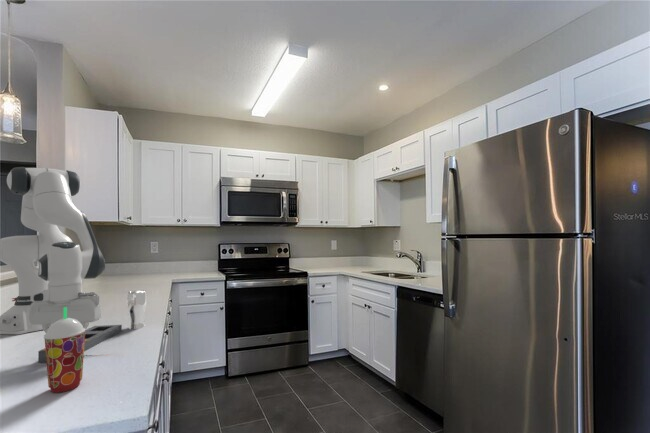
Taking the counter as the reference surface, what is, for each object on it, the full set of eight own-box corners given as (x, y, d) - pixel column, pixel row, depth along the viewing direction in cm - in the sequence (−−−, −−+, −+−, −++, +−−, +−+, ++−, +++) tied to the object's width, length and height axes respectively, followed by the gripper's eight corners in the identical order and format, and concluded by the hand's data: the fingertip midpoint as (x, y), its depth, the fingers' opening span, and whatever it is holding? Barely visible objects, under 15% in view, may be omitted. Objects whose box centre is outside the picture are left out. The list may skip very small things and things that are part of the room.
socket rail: (72, 361, 104) (72, 348, 104) (38, 362, 104) (38, 350, 104) (121, 333, 131) (121, 323, 131) (94, 335, 131) (94, 325, 131)
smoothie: (59, 381, 90) (59, 304, 90) (93, 379, 90) (92, 303, 91) (35, 397, 81) (35, 312, 82) (72, 394, 82) (71, 310, 83)
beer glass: (138, 332, 132) (137, 293, 133) (122, 331, 134) (122, 293, 134) (150, 327, 139) (150, 290, 140) (135, 326, 141) (135, 290, 141)
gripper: (104, 290, 113) (105, 332, 112) (40, 292, 112) (41, 335, 111) (92, 293, 106) (93, 338, 106) (24, 296, 105) (24, 341, 105)
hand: (65, 337), depth 109 cm, fingers open, 8 cm apart
